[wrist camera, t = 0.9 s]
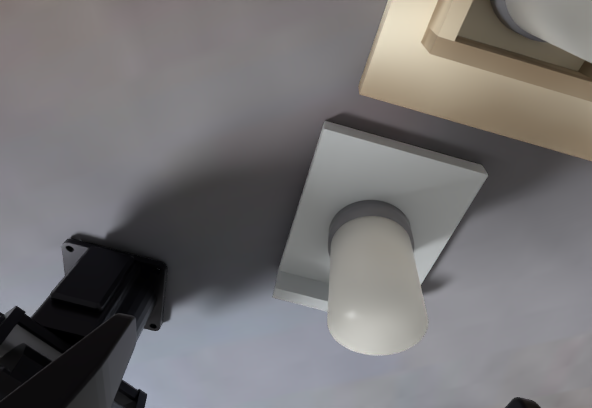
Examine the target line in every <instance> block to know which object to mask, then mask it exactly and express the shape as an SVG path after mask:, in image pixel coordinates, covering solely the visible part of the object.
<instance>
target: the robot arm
mask: <svg viewBox="0 0 592 408" xmlns="http://www.w3.org/2000/svg"><path fill="white" fill-rule="evenodd" d="M62 254H63V263H64V271H65V276H64V278H63V279H62V280H61V281H60V282H59V284H58V285H57V286H56V287H55V288H54V289H53V291H52V292H51V294H50V295H49V297H48V298H47V299H46V300H45V301H44V302H43V304H42V305H41V306H40V307H39V308H38V310H37V311H36V312H35V313H34V314H33V316H32V317H31V318H30V317H29V316H27V315H26V314H25V311H24V310H22V309H21V308H19V307H18V306H15V307H14V308H12V309H11V310H10V311H8V312H7V313H6V314H2V313H1V312H0V408H144V407H145V403H146V398H147V394H146V393H145V392H143V391H142V390H140V389H138V390H137V389H135V388H134V387H133V386H131V385H130V384H128V383H127V382H125V381H124V380H122V378H123V375H124V373H125V370H126V368H127V365H128V363H129V360H130V358H131V355H132V353H133V351H134V348H135V345H136V342H137V340H138V338H139V336H140V334H141V332H142V330H143V328H144V329H148V330H152V331H158V330H159V329H160V327H161V325H162V321H163V310H164V300H165V289H166V278H167V266H166V265H165V264H164V263H163V262H160V261H157V260H153V259H149V258H145V257H141V256H137V255H134V254H130V253H126V252H122V251H118V250H114V249H110V248H106V247H102V246H99V245H95V244H91V243H87V242H83V241H79V240H75V239H67V240H66V241H65V242H64V243H63V244H62ZM157 268H158V269H157ZM159 269H160V270H159ZM505 408H541V407H540V406H539V405H538V404H537V403H536V402H534V401H532V400H529V399H524V398H520V397H516V398H514V399H512V400H511V402H510V403H509V404H508V405H507V406H506V407H505Z"/></svg>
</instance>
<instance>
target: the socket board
mask: <svg viewBox="0 0 592 408" xmlns="http://www.w3.org/2000/svg"><path fill="white" fill-rule="evenodd" d="M359 94H360V95H363V96H367V97H370V98H374V99H377V100H381V101H384V102H388V103H391V104H395V105H398V106H402V107H405V108H409V109H412V110H416V111H419V112H422V113H426V114H429V115H433V116H436V117H440V118H443V119H447V120H450V121H454V122H457V123H461V124H464V125H468V126H471V127H475V128H478V129H482V130H485V131H488V132H492V133H495V134H499V135H502V136H506V137H509V138H513V139H516V140H520V141H523V142H527V143H530V144H534V145H537V146H541V147H544V148H548V149H551V150H554V151H558V152H561V153H565V154H568V155H572V156H575V157H579V158H582V159H586V160H589V161H592V63H590V62H588V61H586V60H584V59H582V58H579V57H577V56H575V55H573V54H571V53H569V52H567V51H565V50H563V49H561V48H559V47H556V46H554V45H552V44H550V43H548V42H539V41H534V40H531V39H529V38H526V37H524V36H522V35H520V34H518V33H516V32H514V31H512V30H511V29H509V28H507V27H506V26H505V25H504V24H503V23H502V22H501V21H500V20H499V19H498V18H497V16H496V14H495V13H494V11H493V8H492V5H491V2H490V0H388V2H387V5H386V8H385V11H384V14H383V17H382V20H381V22H380V25H379V28H378V31H377V34H376V37H375V40H374V43H373V46H372V48H371V51H370V54H369V57H368V60H367V63H366V66H365V69H364V72H363V74H362V77H361V80H360V83H359Z"/></svg>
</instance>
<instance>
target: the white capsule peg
mask: <svg viewBox="0 0 592 408" xmlns="http://www.w3.org/2000/svg"><path fill="white" fill-rule="evenodd" d="M490 2H491V5H492V8H493V11H494V13H495V14H496V16H497V18H498V19H499V20H500V21H501V22H502V23H503V24H504V25H505V26H506V27H507V28H509V29H511V30H512V31H514V32H516V33H518V34H520V35H522V36H524V37H526V38H529V39H531V40H534V41H539V42H548V43H550V44H552V45H554V46H556V47H559V48H561V49H563V50H565V51H567V52H569V53H571V54H573V55H575V56H577V57H579V58H582V59H584V60H586V61H588V62H590V63H592V0H490Z"/></svg>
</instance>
